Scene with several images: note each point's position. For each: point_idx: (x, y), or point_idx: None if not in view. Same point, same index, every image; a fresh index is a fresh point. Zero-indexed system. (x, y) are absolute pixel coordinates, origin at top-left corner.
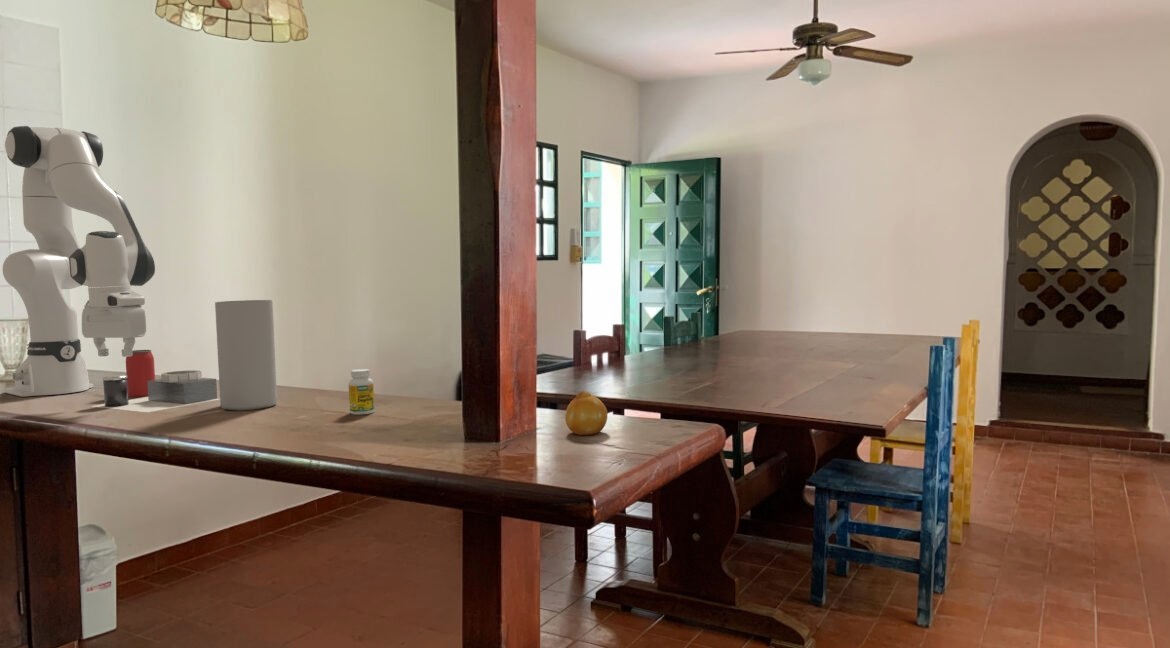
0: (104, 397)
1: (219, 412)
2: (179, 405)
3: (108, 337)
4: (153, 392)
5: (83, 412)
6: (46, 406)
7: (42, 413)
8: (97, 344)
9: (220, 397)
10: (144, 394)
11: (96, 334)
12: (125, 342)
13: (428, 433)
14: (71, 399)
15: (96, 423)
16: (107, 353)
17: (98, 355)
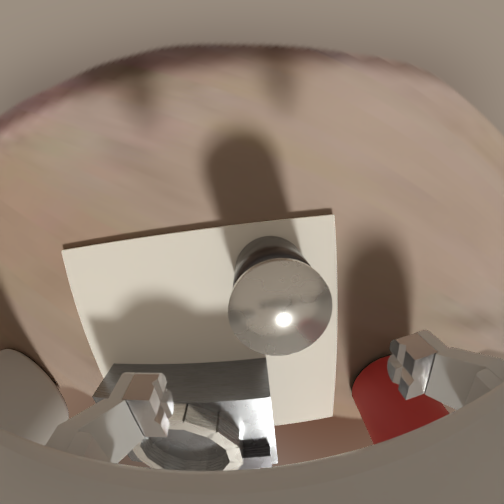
0: (283, 243)
1: (5, 331)
2: (104, 347)
3: (284, 465)
4: (239, 375)
5: (259, 158)
6: (461, 172)
7: (359, 93)
8: (468, 367)
9: (14, 365)
10: (356, 382)
11: (492, 413)
12: (69, 428)
13: None
14: (492, 262)
15: (49, 118)
16: (393, 375)
17: (426, 330)
